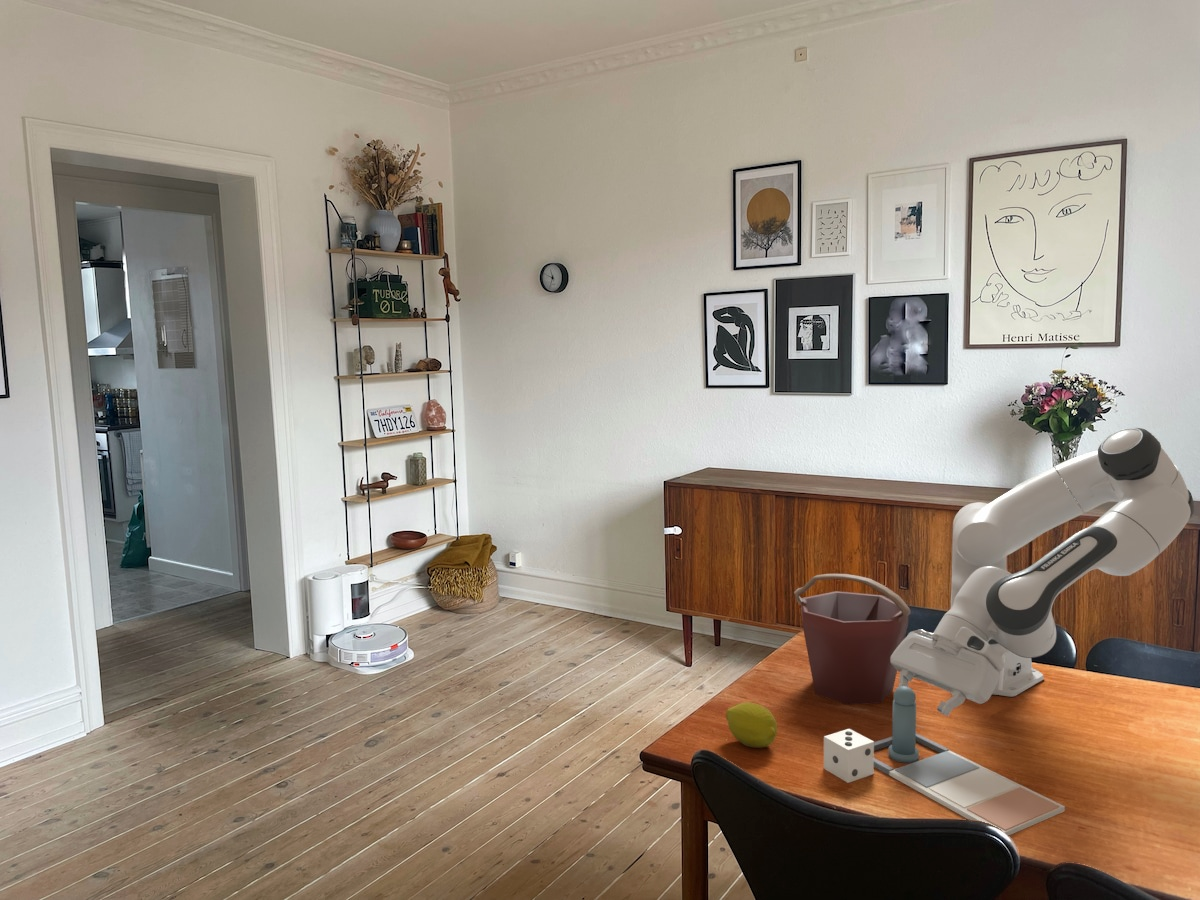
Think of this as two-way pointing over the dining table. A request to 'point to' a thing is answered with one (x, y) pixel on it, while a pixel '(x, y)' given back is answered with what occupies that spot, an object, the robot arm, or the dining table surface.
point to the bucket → (852, 640)
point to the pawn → (904, 726)
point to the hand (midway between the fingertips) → (920, 703)
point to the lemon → (752, 724)
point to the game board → (971, 789)
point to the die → (848, 755)
